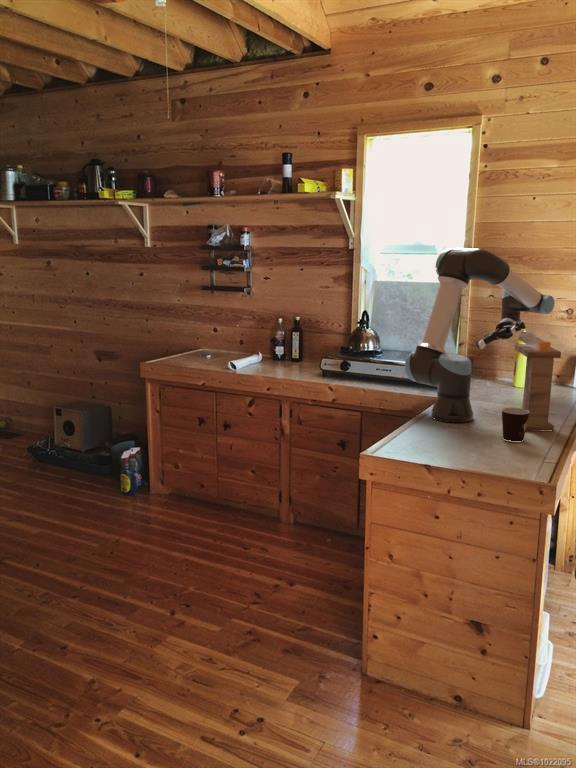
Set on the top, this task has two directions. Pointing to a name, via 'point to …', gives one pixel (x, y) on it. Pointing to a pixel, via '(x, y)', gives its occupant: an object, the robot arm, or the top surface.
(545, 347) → the clear orange-capped tube
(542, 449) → the top surface
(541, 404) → the shelf post
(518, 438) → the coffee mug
